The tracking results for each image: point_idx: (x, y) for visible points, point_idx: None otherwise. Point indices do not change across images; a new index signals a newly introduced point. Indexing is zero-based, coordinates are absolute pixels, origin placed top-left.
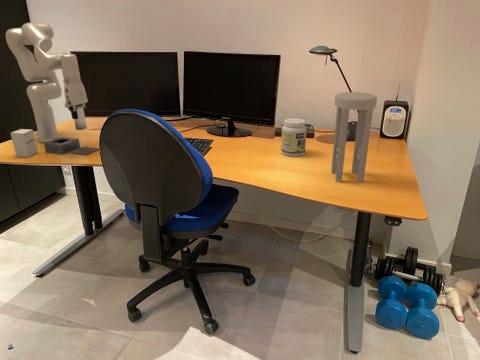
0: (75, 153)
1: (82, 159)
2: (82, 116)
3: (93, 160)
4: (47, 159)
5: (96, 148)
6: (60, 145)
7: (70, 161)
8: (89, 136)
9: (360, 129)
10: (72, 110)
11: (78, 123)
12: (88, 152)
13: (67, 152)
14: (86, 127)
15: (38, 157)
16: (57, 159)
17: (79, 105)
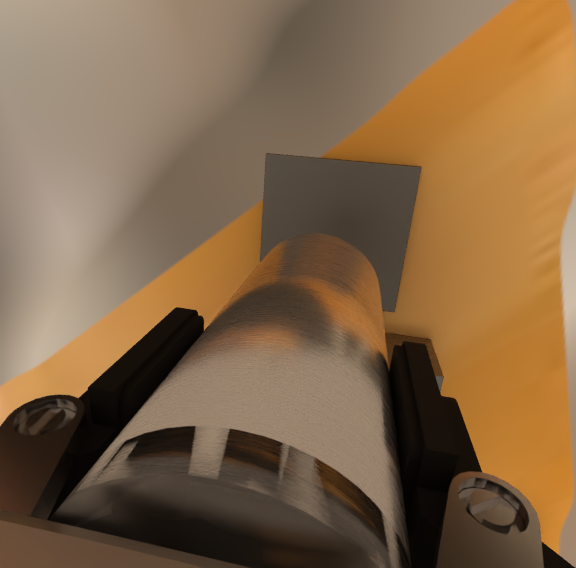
0: (401, 271)
1: (513, 139)
2: (314, 301)
3: (530, 20)
4: (534, 386)
5: (273, 177)
6: (440, 387)
7: (568, 206)
8: (72, 384)
9: None
10: (538, 544)
11: (382, 315)
12: (374, 180)
13: (393, 336)
14: (294, 239)
15: (500, 455)
16: (529, 325)
17: (229, 545)
